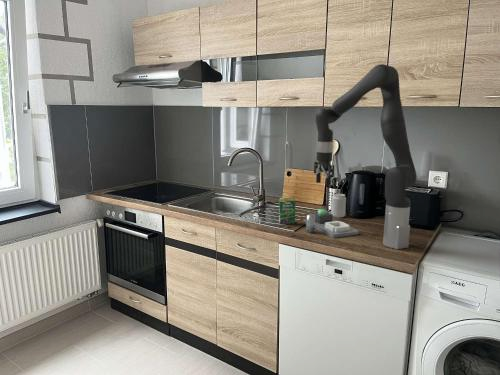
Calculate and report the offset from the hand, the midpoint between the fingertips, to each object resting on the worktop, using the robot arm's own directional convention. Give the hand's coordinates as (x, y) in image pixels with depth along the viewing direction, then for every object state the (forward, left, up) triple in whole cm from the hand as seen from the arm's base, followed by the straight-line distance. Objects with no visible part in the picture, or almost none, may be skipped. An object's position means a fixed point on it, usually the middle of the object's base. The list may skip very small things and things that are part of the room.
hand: (323, 184), depth 179 cm
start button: (0, 0, -16) cm, 16 cm away
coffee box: (+7, +16, -20) cm, 27 cm away
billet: (-9, +12, -20) cm, 25 cm away
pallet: (-7, 0, -20) cm, 21 cm away
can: (+9, -16, -20) cm, 28 cm away
